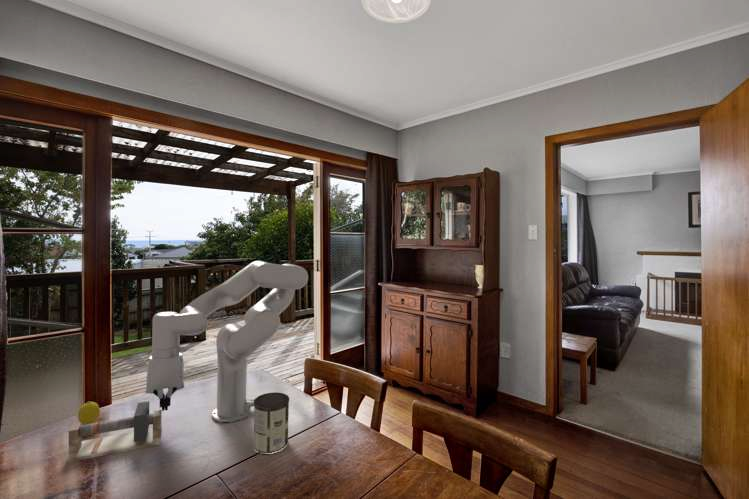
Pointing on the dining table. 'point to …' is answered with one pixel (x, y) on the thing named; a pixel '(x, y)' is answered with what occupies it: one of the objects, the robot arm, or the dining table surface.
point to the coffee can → (271, 422)
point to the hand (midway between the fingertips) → (165, 408)
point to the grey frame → (141, 421)
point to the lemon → (88, 413)
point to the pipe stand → (110, 437)
